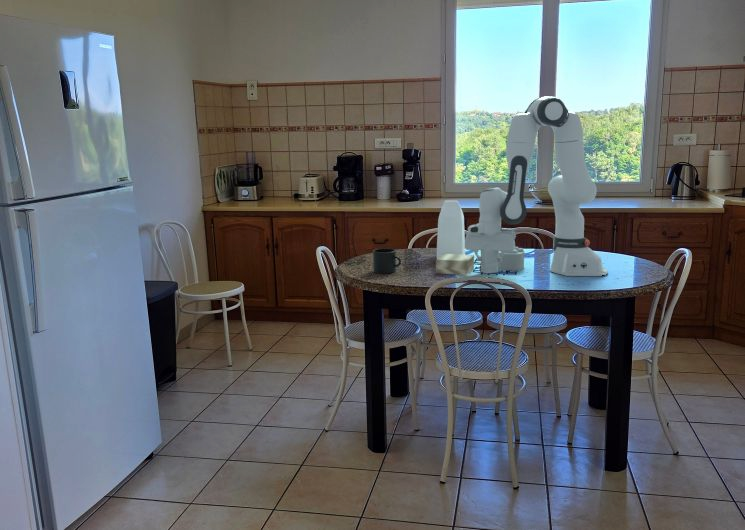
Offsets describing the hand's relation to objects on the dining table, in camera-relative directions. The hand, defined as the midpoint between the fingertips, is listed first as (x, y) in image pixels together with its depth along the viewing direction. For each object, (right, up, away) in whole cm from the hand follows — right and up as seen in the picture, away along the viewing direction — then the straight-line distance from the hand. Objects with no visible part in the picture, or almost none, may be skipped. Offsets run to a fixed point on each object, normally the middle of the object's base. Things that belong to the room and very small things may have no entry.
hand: (489, 261), depth 267 cm
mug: (-42, -5, +5) cm, 42 cm away
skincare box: (0, -5, +1) cm, 5 cm away
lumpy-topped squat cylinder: (+11, -3, +10) cm, 15 cm away
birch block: (-13, -4, +5) cm, 15 cm away
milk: (-12, +2, +35) cm, 37 cm away
